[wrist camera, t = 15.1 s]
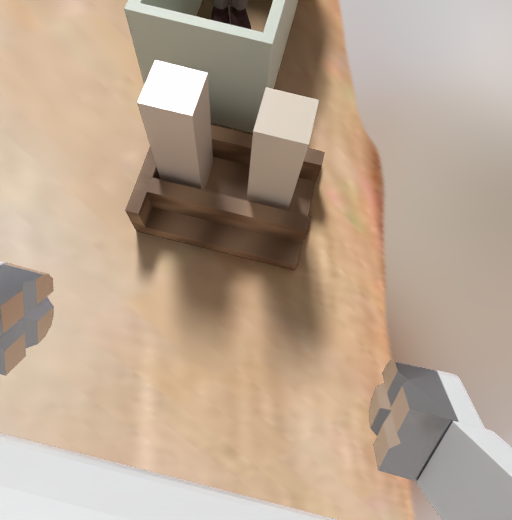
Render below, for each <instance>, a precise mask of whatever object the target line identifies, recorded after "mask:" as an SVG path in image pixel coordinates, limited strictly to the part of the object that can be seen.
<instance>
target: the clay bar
mask: <svg viewBox="0 0 512 520" xmlns="http://www.w3.org/2000/svg"><path fill="white" fill-rule="evenodd" d="M318 102H319V100H317V99H313V98H309V97H305V96H301V95H297V94H293V93H288V92H284V91H280V90H276V89H272V88H268V87H266V88H265V92H264V95H263V99H262V102H261V106H260V109H259V113H258V116H257V120H256V123H255V126H254V130H253V138H252V148H251V159H250V169H249V180H248V190H247V201H250V202H254V203H258V204H262V205H266V206H271V207H275V208H279V209H283V210H287V211H288V209H289V205H290V202H291V199H292V196H293V193H294V190H295V187H296V183H297V180H298V177H299V174H300V171H301V168H302V165H303V161H304V158H305V155H306V152H307V149H308V146H309V142H310V137H311V133H312V129H313V124H314V120H315V115H316V111H317V107H318Z"/></svg>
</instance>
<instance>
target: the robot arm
mask: <svg viewBox="0 0 512 520" xmlns="http://www.w3.org/2000/svg"><path fill="white" fill-rule="evenodd" d="M52 292H53V278H52V277H51V276H50V275H49V274H47V273H43V272H39V271H36V270H32V269H28V268H25V267H21V266H17V265H14V264H10V263H9V264H8V263H6V262H2V261H0V374H2V375H7V374H8V373H9V372H10V371H11V370H12V369H13V368H14V367H15V366H16V365H17V364H18V363H19V362H20V361H21V360H22V359H23V358H24V357H25V356H26V351H25V348H28V347H31V346H33V345H36V344H38V343H39V342H40V341H41V340H42V339H43V338H44V337H45V336H46V334H47V332H48V330H49V328H50V327H51V324H52V320H53V313H54V307H53V305H52V304H51V302H50V301H49V299H48V298H47V297H48V296H49V295H50V294H51V293H52ZM382 375H383V379H384V383H383V384H381V385H379V386H378V387H376V388H375V390H374V393H373V395H372V398H371V402H370V407H369V422H370V428H371V429H372V431H373V432H374V433H375V434H376V435H377V438H376V440H375V442H374V444H373V446H374V451H375V456H376V462H377V467H378V470H379V471H382V472H386V473H389V474H393V475H396V476H400V477H403V478H407V479H411V480H414V481H417V482H416V484H417V485H418V486H419V488H420V489H421V491H422V492H423V494H424V495H425V496H426V498H427V499H428V501H429V502H430V504H431V505H432V506H433V508H434V509H435V511H436V512H437V514H438V515H439V516H440V518H441V519H442V520H512V447H510V446H509V445H508V444H507V443H506V442H505V441H503V440H502V439H501V438H500V437H499V436H498V435H496V434H495V433H494V432H493V431H491V430H487V429H485V428H484V426H483V424H482V422H481V420H480V418H479V416H478V414H477V412H476V410H475V408H474V406H473V404H472V402H471V400H470V398H469V396H468V394H467V392H466V390H465V388H464V386H463V384H462V383H461V380H460V378H458V377H457V376H456V375H455V374H451V373H446V372H442V371H437V370H431V369H426V368H422V367H418V366H413V365H409V364H405V363H401V362H396V361H392V360H390V361H389V362H388V363H387V365H386V366H385V368H384V371H383V373H382ZM0 520H338V519H334V518H330V517H326V516H322V515H318V514H314V513H311V512H307V511H303V510H299V509H295V508H291V507H287V506H284V505H280V504H276V503H272V502H268V501H264V500H260V499H257V498H253V497H249V496H245V495H241V494H237V493H233V492H230V491H226V490H222V489H218V488H214V487H210V486H206V485H202V484H199V483H195V482H191V481H187V480H183V479H179V478H175V477H171V476H167V475H163V474H160V473H156V472H152V471H148V470H144V469H140V468H136V467H132V466H128V465H124V464H121V463H117V462H113V461H109V460H105V459H101V458H97V457H93V456H89V455H85V454H82V453H78V452H74V451H70V450H66V449H62V448H58V447H54V446H50V445H47V444H43V443H39V442H35V441H31V440H27V439H23V438H19V437H15V436H12V435H8V434H4V433H0Z"/></svg>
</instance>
